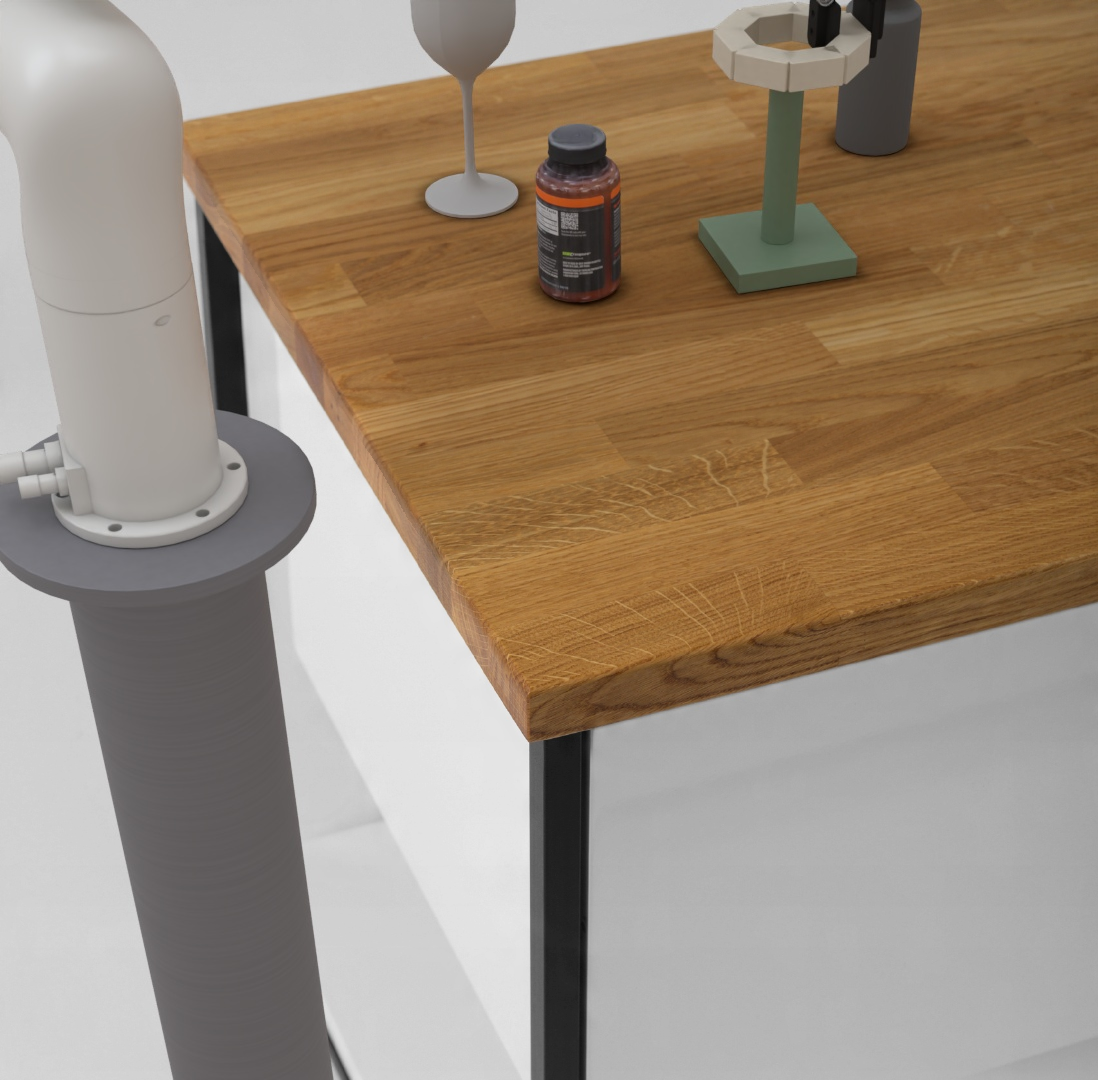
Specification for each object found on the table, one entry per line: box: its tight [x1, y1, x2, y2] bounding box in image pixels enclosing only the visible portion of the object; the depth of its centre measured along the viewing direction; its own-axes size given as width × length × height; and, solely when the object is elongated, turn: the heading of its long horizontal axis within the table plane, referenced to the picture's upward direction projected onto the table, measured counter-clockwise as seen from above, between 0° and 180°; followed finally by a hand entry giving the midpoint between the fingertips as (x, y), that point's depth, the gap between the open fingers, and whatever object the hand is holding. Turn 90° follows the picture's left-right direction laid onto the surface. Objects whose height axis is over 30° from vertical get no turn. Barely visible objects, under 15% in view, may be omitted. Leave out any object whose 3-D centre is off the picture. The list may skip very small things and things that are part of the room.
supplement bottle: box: [535, 123, 622, 303], centre depth 143 cm, size 6×6×11 cm
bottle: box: [834, 0, 923, 156], centre depth 159 cm, size 6×6×15 cm
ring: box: [711, 1, 871, 92], centre depth 139 cm, size 10×10×2 cm
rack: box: [697, 89, 858, 294], centre depth 145 cm, size 9×9×14 cm
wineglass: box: [409, 0, 519, 219], centre depth 150 cm, size 8×8×21 cm
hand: (843, 51), depth 141 cm, fingers closed on ring, 2 cm apart
